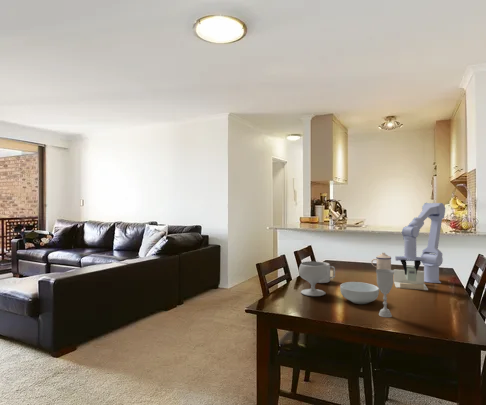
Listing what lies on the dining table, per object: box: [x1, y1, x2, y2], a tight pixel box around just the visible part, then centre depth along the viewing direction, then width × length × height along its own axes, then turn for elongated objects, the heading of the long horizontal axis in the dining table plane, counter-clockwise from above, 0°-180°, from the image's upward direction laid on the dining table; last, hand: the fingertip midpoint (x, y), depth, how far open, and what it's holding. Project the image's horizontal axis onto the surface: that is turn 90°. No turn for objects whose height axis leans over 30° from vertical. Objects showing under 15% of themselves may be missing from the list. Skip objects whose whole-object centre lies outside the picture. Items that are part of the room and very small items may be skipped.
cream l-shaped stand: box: [393, 269, 429, 291], centre depth 181 cm, size 13×15×7 cm
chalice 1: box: [298, 260, 327, 297], centre depth 169 cm, size 14×14×15 cm
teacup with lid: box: [371, 252, 392, 270], centre depth 219 cm, size 12×9×12 cm
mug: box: [316, 261, 336, 284], centre depth 194 cm, size 14×11×10 cm
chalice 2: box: [375, 268, 395, 318], centre depth 137 cm, size 7×7×18 cm
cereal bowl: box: [339, 281, 380, 305], centre depth 156 cm, size 17×17×7 cm
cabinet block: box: [405, 265, 416, 281], centre depth 179 cm, size 10×4×6 cm, turn 161°
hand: (410, 274), depth 180 cm, fingers closed on cabinet block, 4 cm apart
